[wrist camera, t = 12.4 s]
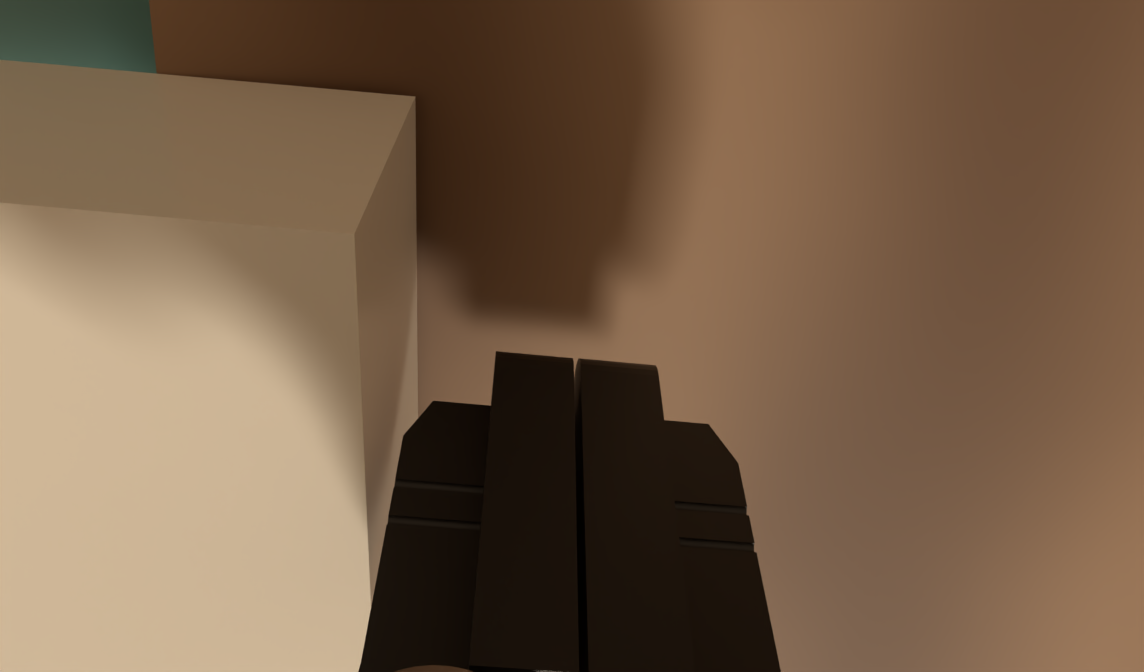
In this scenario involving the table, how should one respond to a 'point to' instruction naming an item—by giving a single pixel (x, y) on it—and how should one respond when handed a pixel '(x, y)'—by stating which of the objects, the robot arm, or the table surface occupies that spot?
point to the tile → (199, 367)
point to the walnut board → (799, 274)
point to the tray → (78, 33)
